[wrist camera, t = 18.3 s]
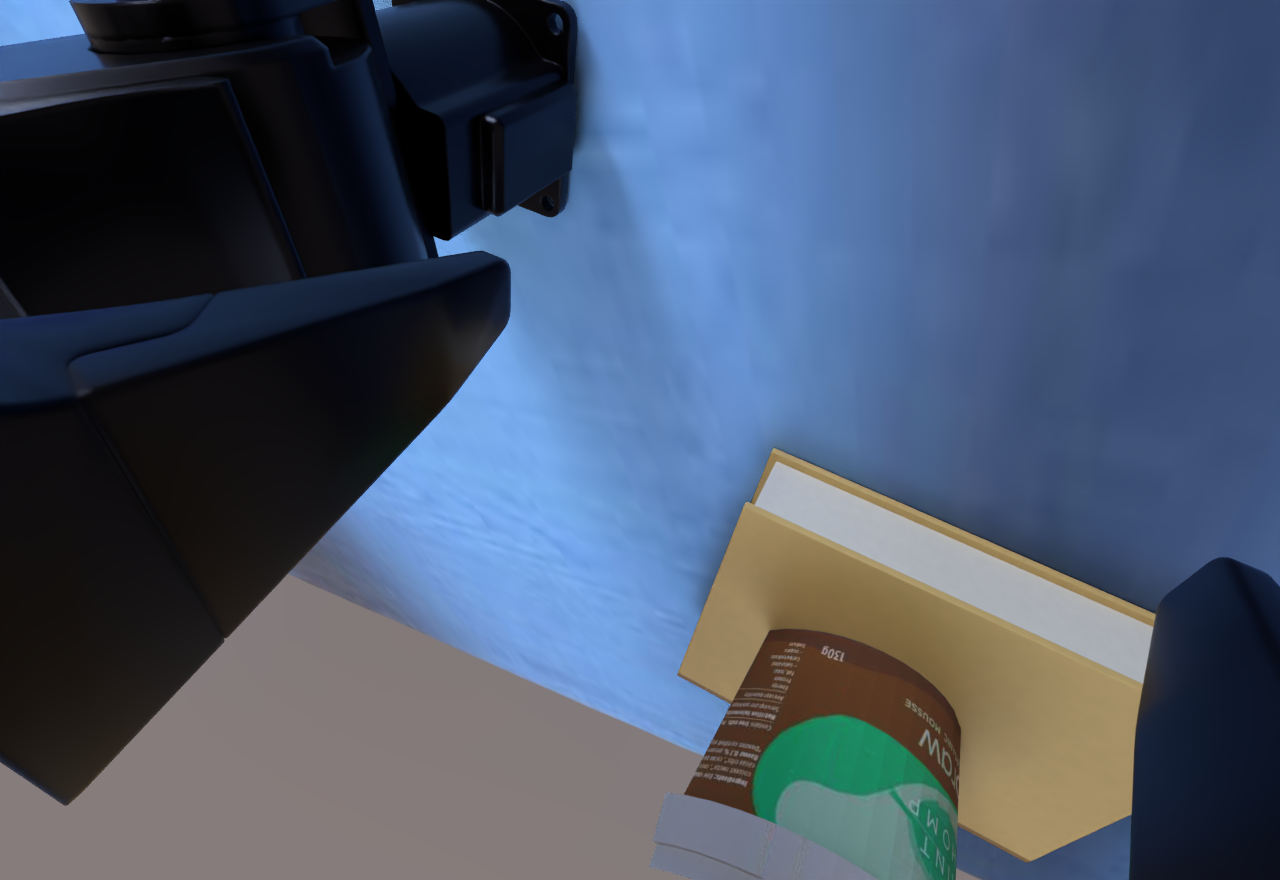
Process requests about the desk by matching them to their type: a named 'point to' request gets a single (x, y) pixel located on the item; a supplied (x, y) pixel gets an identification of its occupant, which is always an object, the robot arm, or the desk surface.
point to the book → (945, 644)
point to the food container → (821, 773)
